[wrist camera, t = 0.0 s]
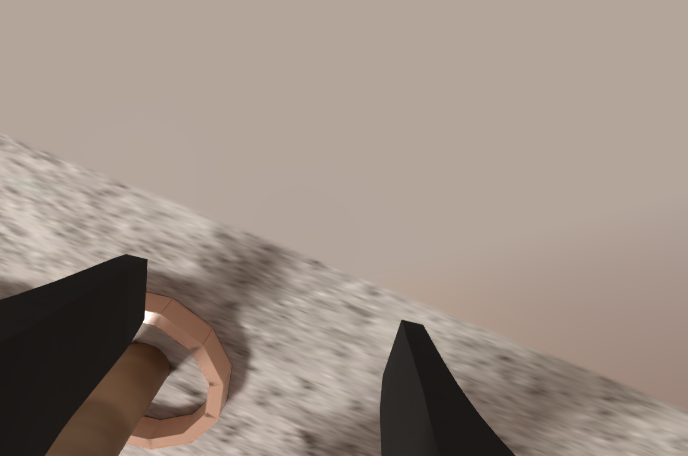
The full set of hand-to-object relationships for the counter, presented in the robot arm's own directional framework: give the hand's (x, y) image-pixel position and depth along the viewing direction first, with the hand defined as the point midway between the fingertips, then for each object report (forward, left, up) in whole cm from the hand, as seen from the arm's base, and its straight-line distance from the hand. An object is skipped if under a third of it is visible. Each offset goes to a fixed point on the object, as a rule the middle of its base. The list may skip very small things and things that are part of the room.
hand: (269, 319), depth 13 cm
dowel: (-13, +8, -10) cm, 18 cm away
